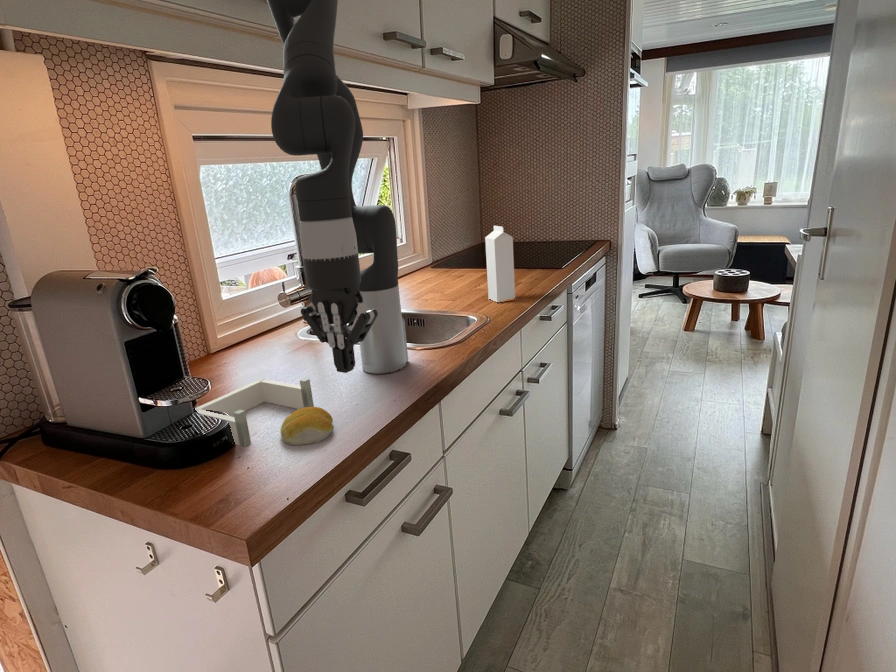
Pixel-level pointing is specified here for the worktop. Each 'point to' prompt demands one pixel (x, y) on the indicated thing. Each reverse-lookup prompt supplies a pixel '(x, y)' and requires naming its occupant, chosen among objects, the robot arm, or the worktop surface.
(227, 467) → the worktop surface
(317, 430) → the bread roll
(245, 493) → the worktop surface
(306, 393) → the holder
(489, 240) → the milk
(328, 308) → the robot arm
